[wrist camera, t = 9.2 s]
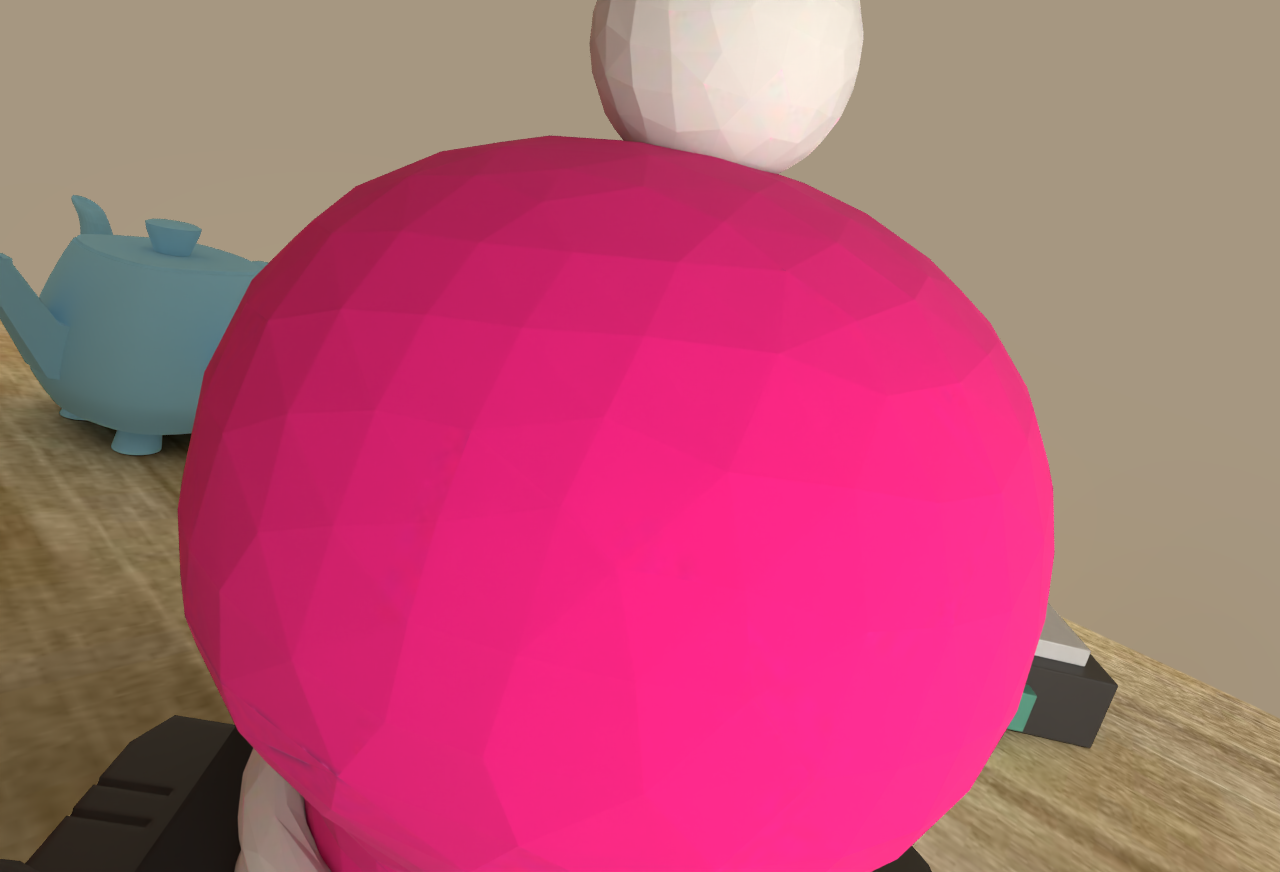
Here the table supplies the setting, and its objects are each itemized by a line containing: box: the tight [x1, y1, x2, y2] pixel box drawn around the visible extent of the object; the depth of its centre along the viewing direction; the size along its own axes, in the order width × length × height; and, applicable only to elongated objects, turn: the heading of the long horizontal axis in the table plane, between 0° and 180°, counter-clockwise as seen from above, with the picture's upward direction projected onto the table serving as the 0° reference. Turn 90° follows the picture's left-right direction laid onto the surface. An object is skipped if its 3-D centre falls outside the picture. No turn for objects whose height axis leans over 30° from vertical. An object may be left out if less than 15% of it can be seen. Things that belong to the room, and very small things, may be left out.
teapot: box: [0, 195, 268, 455], centre depth 45 cm, size 15×14×11 cm
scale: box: [1007, 603, 1118, 748], centre depth 41 cm, size 14×13×4 cm
